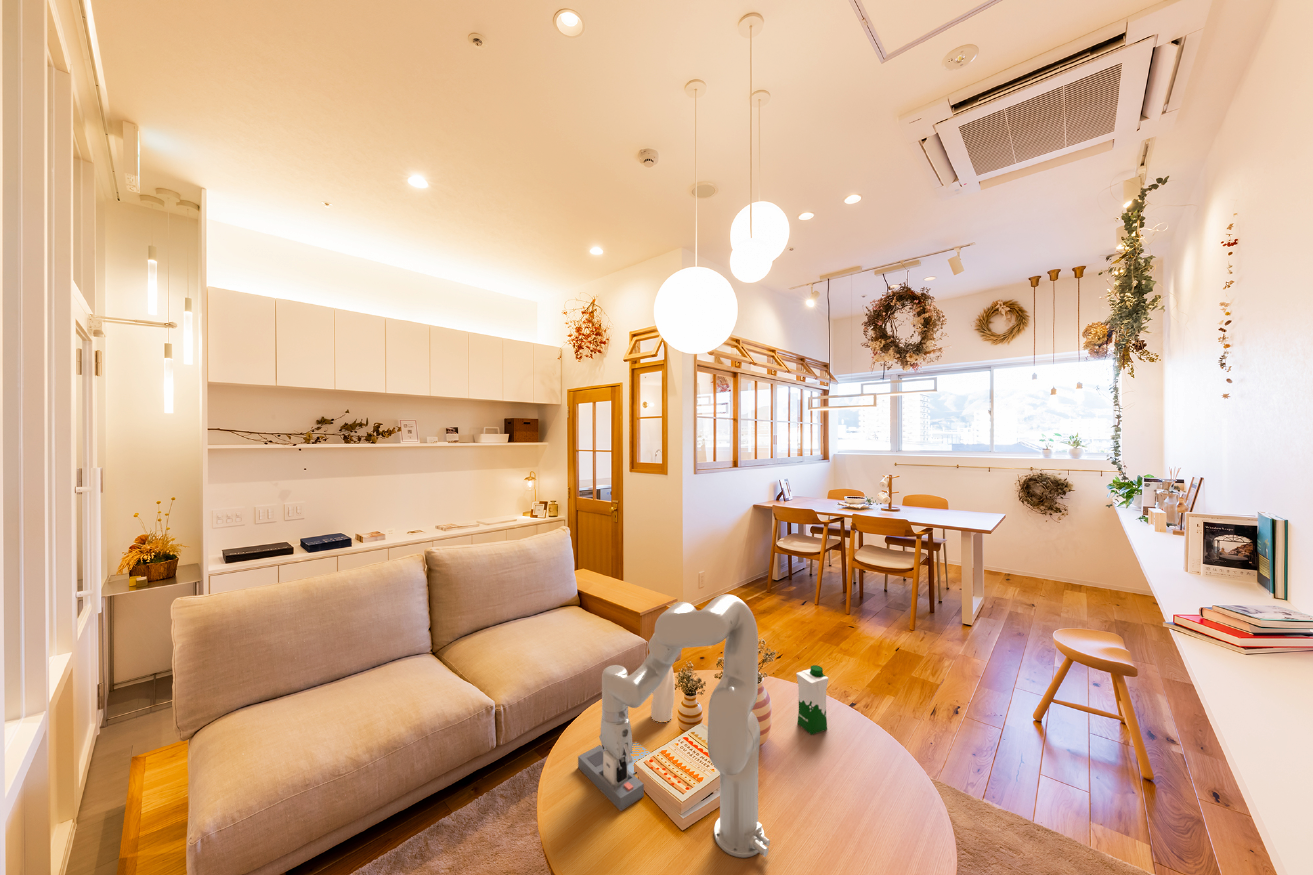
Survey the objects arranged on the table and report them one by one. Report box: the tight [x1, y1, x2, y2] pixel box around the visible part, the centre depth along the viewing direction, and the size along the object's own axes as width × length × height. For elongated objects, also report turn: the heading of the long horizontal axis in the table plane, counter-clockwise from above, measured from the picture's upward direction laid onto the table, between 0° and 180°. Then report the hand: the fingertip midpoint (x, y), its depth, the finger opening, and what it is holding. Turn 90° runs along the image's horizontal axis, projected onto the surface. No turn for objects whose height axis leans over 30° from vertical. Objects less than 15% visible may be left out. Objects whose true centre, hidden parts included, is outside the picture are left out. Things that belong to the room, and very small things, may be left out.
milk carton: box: [796, 664, 829, 736], centre depth 163 cm, size 9×9×20 cm
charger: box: [603, 750, 628, 788], centre depth 135 cm, size 5×5×8 cm
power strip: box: [577, 744, 645, 812], centre depth 138 cm, size 22×8×4 cm, turn 41°
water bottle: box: [650, 666, 676, 722], centre depth 168 cm, size 10×9×28 cm
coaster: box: [628, 741, 651, 776], centre depth 147 cm, size 11×11×1 cm
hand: (615, 773), depth 135 cm, fingers open, 5 cm apart
